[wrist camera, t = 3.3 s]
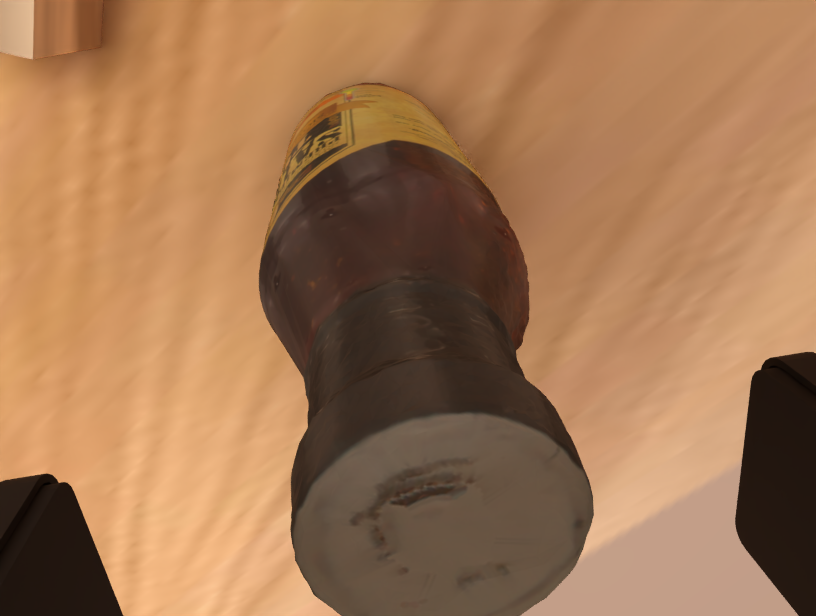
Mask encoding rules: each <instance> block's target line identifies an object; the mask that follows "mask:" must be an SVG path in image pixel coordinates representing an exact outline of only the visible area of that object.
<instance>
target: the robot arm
mask: <svg viewBox="0 0 816 616" xmlns="http://www.w3.org/2000/svg"><path fill="white" fill-rule="evenodd" d="M735 524H736V530H737V533H738V536H739V539H740V541H741V543H742V544H743V546H744V547H745V549H746V550H747V551H748V553H749V554H750V555H751V556H752V558H753V559H754V560H755V561H756V563H757V564H758V565H759V566H760V568H761V569H762V570H763V571H764V572H765V574H766V575H767V576H768V578H769V579H770V580H771V581H772V583H773V584H774V585H775V586H776V588H777V589H778V590H779V592H780V593H781V594H782V595H783V597H785V599H786V600H787V601H788V603H789V604H790V605H791V607H792V608H793V609H794V610H795V612H796V613H797V614H798V615H799V616H816V353H814V352H804V353H798V354H792V355H785V356H779V357H773V358H769V359H767V360H766V361H765V362H764V364H763V365H762V368H761V370H758V371H757V372H755V373H754V375H753V377H752V381H751V388H750V397H749V406H748V414H747V423H746V431H745V440H744V449H743V457H742V466H741V475H740V483H739V492H738V500H737V509H736V518H735ZM0 616H123V614H122V611H121V609H120V606H119V604H118V601H117V599H116V596H115V594H114V591H113V589H112V586H111V584H110V581H109V579H108V576H107V574H106V571H105V569H104V566H103V564H102V561H101V559H100V556H99V554H98V551H97V549H96V546H95V544H94V541H93V539H92V536H91V534H90V531H89V529H88V526H87V524H86V521H85V519H84V516H83V514H82V511H81V509H80V506H79V504H78V501H77V498H76V496H75V493H74V491H73V489H72V487H71V486H70V485H69V484H68V483H65V482H62V483H58V481H57V479H56V478H55V477H54V476H53V475H50V474H41V475H35V476H29V477H23V478H16V479H10V480H5V481H2V482H0Z"/></svg>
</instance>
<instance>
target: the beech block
mask: <svg viewBox="0 0 816 616" xmlns="http://www.w3.org/2000/svg"><path fill="white" fill-rule="evenodd" d="M103 6H104V0H0V52H2V53H6V54H10V55H15V56H19V57H24V58H28V59H32V60H34V59H39V58H45V57H50V56H56V55H61V54H67V53H72V52H78V51H83V50H89V49H94V48H100V47H101V41H102V24H103Z"/></svg>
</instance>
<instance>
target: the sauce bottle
mask: <svg viewBox="0 0 816 616" xmlns="http://www.w3.org/2000/svg"><path fill="white" fill-rule="evenodd" d="M527 277H528V273H527V266H526V264H525V261H524V255H523V252H522V250H521V248H520V245H519V242H518V240H517V238H516V235H515V233H514V231H513V230H512V229H511V227H510V225H509V221H508V220H507V218H506V217H505V216H504V215H503V214H502V211H501V209H500V207H499V205H498V203H497V201H496V199H495V197H494V196H493V194H492V193H491V191H490V190H489V188H488V186H487V185H486V184H485V182H484V181H483V180H482V178H481V177H480V176H479V174H478V173H477V171H476V170H475V169H474V167H473V166H472V165H471V164H470V162H469V161H468V160H467V158H466V157H465V156H464V154H463V153H462V151H461V150H460V149H459V147H458V146H457V144H456V143H455V142H454V140H453V139H452V137H451V136H450V134H449V133H448V132H447V130H446V129H445V128H444V126H443V125H442V123H441V122H440V121H439V120H438V119H437V117H436V116H435V115H434V114H433V113H432V112H431V111H430V110H429V109H428V108H427V107H426V106H425V105H424V104H423V103H421V102H420V101H418V100H417V99H415V98H414V97H413V96H411V95H409V94H407V93H405V92H402V91H399V90H397V89H395V88H392V87H389V86H387V85H384V84H381V83H362V84H358V85H353V86H350V87H347V88H345V89H342V90H339V91H337V92H334V93H331V94H328V95H326V96H325V97H324V98H323V99H321V100H320V101H319V102H318V103H317V104H316V105H314V106H313V107H312V108H311V109H310V110H309V111H308V112H307V113H306V114H305V116H304V117H303V118H302V120H301V121H300V123H299V124H298V126H297V128H296V129H295V131H294V133H293V136H292V138H291V141H290V144H289V147H288V151H287V155H286V159H285V163H284V167H283V170H282V174H281V177H280V179H279V184H278V189H277V194H276V199H275V201H274V206H273V209H272V215H271V220H270V223H269V227H268V230H267V234H266V238H265V244H264V249H263V253H262V257H261V263H260V270H259V291H260V299H261V302H262V306H263V310H264V312H265V315H266V317H267V319H268V321H269V323H270V325H271V327H272V329H273V330H274V332H275V333H276V334H277V336H278V337H279V339H280V340H281V342H282V344H283V345H284V347H285V348H286V350H287V352H288V353H289V355H290V356H291V358H292V360H293V361H294V363H295V365H296V366H297V368H298V369H299V371H300V373H301V374H302V376H303V377H304V382H305V389H306V396H307V398H308V402H309V410H308V429H307V431H306V432H305V434H304V436H303V438H302V440H301V441H300V443H299V446H298V450H297V453H296V457H295V461H294V465H293V469H292V475H291V502H292V514H291V519H292V521H291V529H290V530H291V538H292V544H293V548H294V551H295V561H296V562H297V564H298V566H299V568H300V570H301V573H302V575H303V577H304V578H305V579H306V581H307V582H308V584H309V586H310V588H311V590H312V592H313V594H314V595H315V596H316V597H317V598H319V599H320V600H321V601H323V602H324V603H326V604H327V605H328V606H330V607H331V608H333V609H334V610H335V611H336V612H337V613H339V614H340V615H342V616H520V615H521V614H522V613H524V612H525V611H527V610H528V609H530V608H531V607H532V606H534V605H535V604H537V603H539V602H540V601H542V600H544V599H545V598H546V597H547V596H548V595H549V594H550V593H551V592H552V591H553V590H554V589H555V588H556V587H557V586H558V585H559V584H560V583H561V582H562V581H563V580H564V579H565V578H566V577H567V576H568V574H570V572H571V571H572V570H573V568H574V567H575V565H576V563H577V561H578V559H579V557H580V554H581V552H582V550H583V547H584V543H585V540H586V536H587V534H588V532H589V529H590V526H591V523H592V519H593V515H594V512H593V495H592V491H591V487H590V483H589V479H588V477H587V475H586V472H585V470H584V468H583V465H582V463H581V460H580V458H579V455H578V452H577V450H576V448H575V445H574V443H573V441H572V439H571V437H570V435H569V434H568V432H567V431H566V428H565V426H564V424H563V422H562V420H561V419H560V417H559V415H558V413H557V411H556V409H555V408H554V406H553V405H552V404H551V402H550V401H549V400H548V399H547V397H546V396H545V395H544V394H543V393H542V392H541V391H540V390H538V389H537V388H536V387H535V386H533V385H532V384H531V383H530V382H529V381H527V380H526V379H525V377H524V374H523V371H522V369H521V367H520V366H519V363H518V361H517V357H516V350H517V349H518V348H519V347H520V346H521V344H522V342H523V335H524V332H525V329H526V326H527V324H528V320H529V294H528V293H529V282H528V279H527Z"/></svg>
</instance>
